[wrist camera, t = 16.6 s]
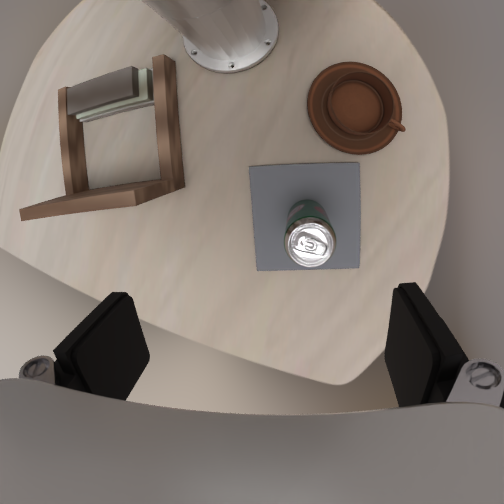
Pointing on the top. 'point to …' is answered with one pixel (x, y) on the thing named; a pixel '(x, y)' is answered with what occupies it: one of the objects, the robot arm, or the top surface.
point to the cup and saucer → (354, 108)
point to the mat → (300, 188)
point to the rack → (105, 104)
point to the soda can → (309, 234)
